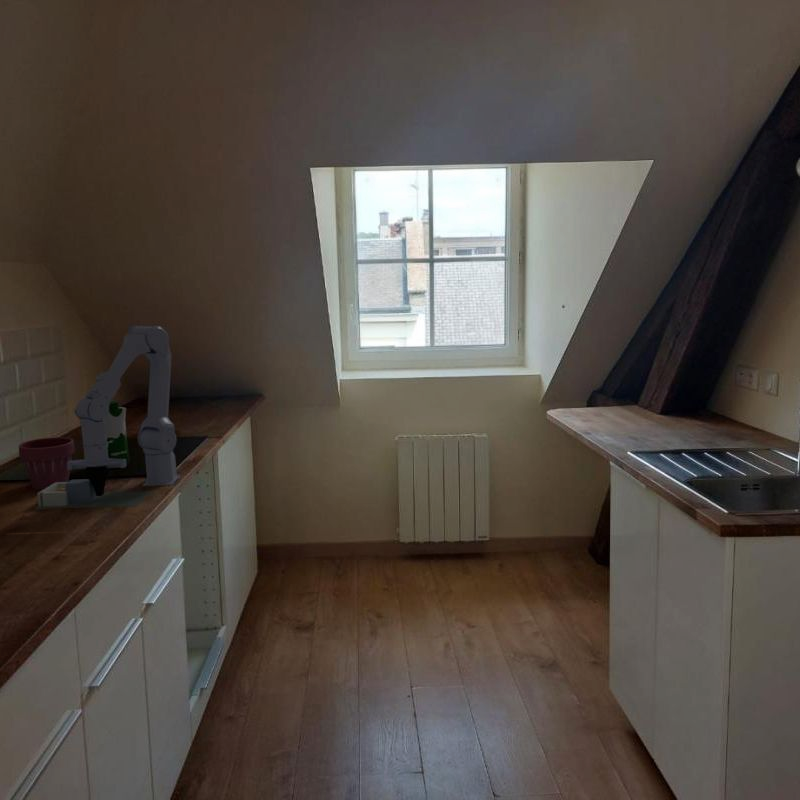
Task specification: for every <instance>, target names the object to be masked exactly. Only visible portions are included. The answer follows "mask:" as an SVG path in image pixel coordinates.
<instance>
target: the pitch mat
mask: <svg viewBox="0 0 800 800" xmlns="http://www.w3.org/2000/svg"><path fill="white" fill-rule="evenodd" d="M152 493H154V492H153V490H150V491H123V492H122V491H121V492H119V491H118V492H117V491H116V492H104V494H103V495H102V496H97V497H96V498H95V499H94V500H92V501H91V502H69V503H68V505H67V506H45V507H39V505H37V506H36V507H34V508H33V510H45V509H46V510H47V509H48V510H49V509H77V508H78V509H80V508H81V509H83V508H107V507H108V508H109V507H137V506H138V505H139V504H140V503H141V502H143V501H144V500H146V498H147V497H149V496H150V495H151V494H152Z"/></svg>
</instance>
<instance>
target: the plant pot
mask: <svg viewBox="0 0 800 800" xmlns="http://www.w3.org/2000/svg"><path fill="white" fill-rule="evenodd" d="M75 450H76V449H75V443H74V439H73V438H70V437H58V436H57V437H56V436H55V437H44V438H36V439H31V440H27V441H23V442H22V443H19V444H18V456H19V459H20V460H22V461H23V462H24V463H23V464H24V466H25V469H26V472H27V475H28V478H29V480H30V484H31V486H32V489H34V490H40V491H42V490H44V489H45V488H47V487H49V486H50V485H52V484H54V483H55V482H69V481H70V479H69V478H70V475H71V474H70V473H71V469H70V470H68V465H67V462H69V461H72V455H74V454H75V452H76V451H75Z"/></svg>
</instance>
